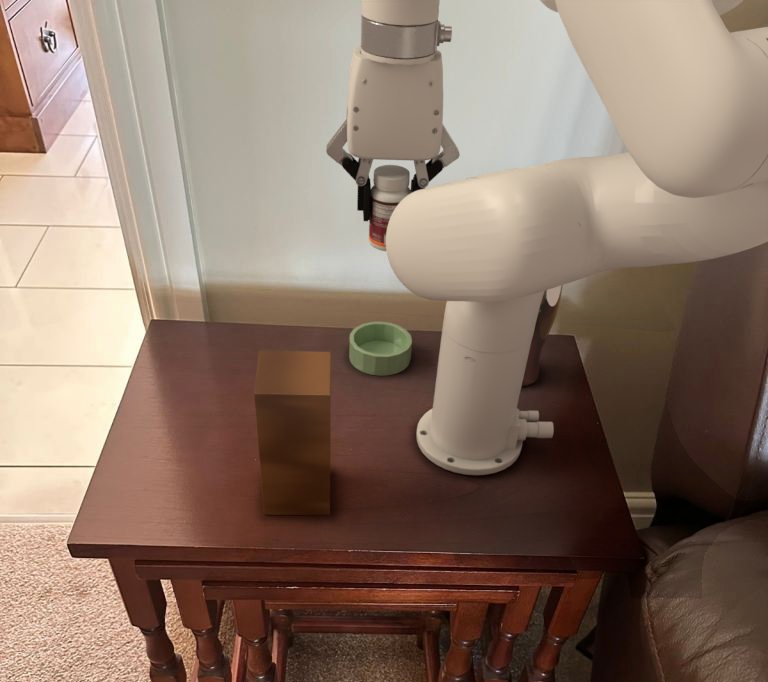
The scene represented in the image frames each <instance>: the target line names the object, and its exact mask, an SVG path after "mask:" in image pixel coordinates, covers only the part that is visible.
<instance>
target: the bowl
mask: <svg viewBox="0 0 768 682" xmlns="http://www.w3.org/2000/svg"><path fill="white" fill-rule="evenodd" d="M348 339H349V340H348V341H349V342H348V353H349V354H348V359H349V362H350V364H351V365H352V366H353V367H354V368H355V369H356V370H358V371H360V372H361V373H364V374H367V375H372V376H379V377H380V376H386V377H387V376H391V375H396V374H399V373H400V372H403V371H404V370H405V369H406V368H408V366H409V364H410V362H411V359H412V348H413V338H412V334H411V333H410V332H409V331H408V330H407V329H406V328H404V327H402V326H400V325H398V324H396V323H392V322H387V321H369V322H365V323H362V324H360V325H357V326H356V327H354V328H353V329H352V330H351V332H350V333H349V337H348Z"/></svg>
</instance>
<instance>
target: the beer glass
mask: <svg viewBox="0 0 768 682" xmlns="http://www.w3.org/2000/svg"><path fill="white" fill-rule="evenodd" d="M563 286H564V285H561V286H558V287H555V288H551V289H548V290H545V291H544V294H543V298H542V301H541V304H540V308H539V312H538V316H537V320H536V324H535V329H534V333H533V337H532V341H531V345H530V350H529V355H528V359H527V364H526V368H525V373H524V377H523V382H522V386H521V387H528V386H531V385H533V384H534V383H535V382H537V381H538V379H539V376H540V361H541V360H540V358H541V354H542V351H543V349H544V345H545V343H546V342H547V339H548V336H549V334H550V332H551V330H552V329H553V325H554V322H555V320H556V318H557V315H558V311H559V307H560V302H561V298H562V293H563Z"/></svg>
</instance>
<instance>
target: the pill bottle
mask: <svg viewBox="0 0 768 682" xmlns="http://www.w3.org/2000/svg"><path fill="white" fill-rule="evenodd" d="M410 177H411V176H410V170H409V169H408V168H406V167H404V166H402V165H397V164H383V165H379V166H377V167H376V168H375V169H374V170H373V180H372V181H373V186H371V200H370V220H368V224H369V225H368V242H369V245H370V246H372V248H374V249H376V250H378V251H382V252H387V251H386V232H387V227H388V223H389V220H390V217H391V215H392V213H393V211H394V209H395V208H396V207H397V205H398V204H399V203H400V202H401V201H402V200H403V199H404V198H405V197H406V196H407V195H409V194H410V193H411V187H410V180H411V179H410Z"/></svg>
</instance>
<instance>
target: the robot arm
mask: <svg viewBox="0 0 768 682" xmlns="http://www.w3.org/2000/svg"><path fill="white" fill-rule="evenodd" d="M539 1H540V2H541V4H542V5H544V6H545V7H546V8H547V9H549V10H550V11H553V12H555V13H558V15H559V17H560V20H561V22H562V24H563V27H564V28H565V31H566V33H567V36H568V38H569V41H570V42H571V45H572V47H573V48H574V51H575V52H576V54H577V56H578V58H579V61H580V62H581V64H582V66H583V68H584V70H585V72H586V73H587V76H588V77H589V79H590V81H591V83H592V85H593V87H594V88H595V90H596V93H597V94H598V96H599V98H600V101H601V102H602V104H603V107H604V108H605V110H606V112H607V113H608V115H609V117H610V119H611V122H612V123H613V125H614V127H615V129H616V132H617V133H618V135H619V137H620V139H621V141H622V142H623V144H624V147H625V149H626V150H627V152H623V153H615V154H608V155H607V154H606V155H598V156H580V157H569V158H562V159H558V160H553V161H547V162H544V163H539V164H534V165H530V166H526V167H525V166H524V167H519V168H518V167H517V168H515V167H514V168H507V169H501V170H497V171H491V172H487V173H483V174H477V175H474V176H469V177H466V178H464V179H460V180H455V181H450V182H447V183H441V184H438V185H433V186H430V187H429V184H430V182H432V180H433V179H435V178H436V177H437V176H438V175H439V174H440V173H441V172H442V171H443V169H445V168H446V167H448V166H449V165H451V164H452V163H453V162H455V161H457V160H458V159H459V158H460V154H461V153H460V151H459V147H458V146H457V145H456V143H455V141H454V139H453V138H452V136H451V135H450V133H449V131H448V130H447V128H446V126H445V125H444V123H443V120H444V69H443V66H444V65H443V56H442V52H441V51H440V50H438V47H440V44H444V43H451V41H452V37H453V27H452V26H451V25H445V24H442V23H441V21H440V20H439V15H440V14H439V13H440V3H441V0H361V14H360V15H361V17H360V18H361V20H360V21H361V23H360V45H358V46H356V47H354V48H353V51H352V56H351V60H350V67H349V74H348V84H347V101H346V103H347V104H346V119H345V120H344V122H343V123H342V124H341V125H340V126H339V128H338V130H337V131H336V132H335V134H333V136H332V137H331V139H330V140H329V141H328V143H327V144H326V148H325V149H326V151H325V152H326V154H327V155H328V157H329V158H330V159H332V160H333V161H335V163H337V164H339V165H340V166H341V167H342V169H344V170H345V172H346V173H347V174H348V175H349V176H350V177H351V178H352V179H353V180H354V181H355V184H356V185H357V201H356V202H357V203H356V206H357V207H356V208H357V211H358V212H359V211H360V212H362V216H363V217H362V219H363V222H369V220H370V200H371V188H372V185H371V178H370V172H371V168H372V165H373V162H374V160H382V161H383V160H384V161H413V164H414V170H415V173H414V174H413V177H412V179H410V180H411V181H410V190H411V193H410V194H409V195H407V196H406V197H405V198H404V199H403V200H402V201H401V202H400V203H399V204H398V205H397V207H396V208H395V209H394V211H393V213H392V215H391V217H390V220H389V223H388V227H387V232H386V251H385V252H386V255H387V259H388V263H389V265H390V269H392V271H393V274H394V275H395V277H396V278H397V279H398V280H399V282H400V283H401V284H402V285H403V286H404V288H406V289H407V290H408V291H410V292H411V293H413V294H414V295H416V296H418V297H420V298H423V299H427V300H430V301H437V302H446V303H445V309H444V315H443V321H442V328H441V335H440V336H441V338H440V346H439V353H438V361H437V370H436V379H435V384H434V385H435V387H434V395H433V401H432V402H433V403H432V408H431V409H430V408H429V410H427V411H426V412H425V413H423V415H422V417H420V418H419V421H418V423H417V427H416V442H417V443H416V444H417V446H418V448H419V449H420V452H421V453H422V454H423V455H424V456H425V457H426V458H427V459H428V460H429V461H430V462H432V463H433V464H434V465H436V466H438V467H440V468H442V469H444V470H446V471H449V472H451V473H455V474H461V475H465V476H466V475H467V476H484V475H485V476H486V475H491V474H495V473H498V472H501V471H504V470H506V469H508V468H509V467H510V466H512V465H513V464H514V463H515V462H516V461H517V459H518V458H519V457H520V455H521V451H522V448H523V442H524V441H525V440H526V439H527V438H536V439H552V438H553V436H554V431H555V430H554V429H555V427H554V422H553V421H539V420H540V413H539V410H520V408H518V404H519V399H520V395H521V392H522V391H521V390H522V387H523V386H522V382H523V377H524V373H525V368H526V364H527V359H528V355H529V350H530V345H531V341H532V337H533V333H534V329H535V324H536V320H537V316H538V312H539V308H540V304H541V301H542V298H543V294H544V291H545V290H548V289H551V288H555V287H558V286H561V285H563V286H564V285H567V284H570V283H573V282H576V281H579V280H582V279H584V278H588V277H590V276H593V275H595V274H599V273H602V272H606V271H611V270H617V269H618V270H619V269H628V268H629V269H630V268H646V267H647V268H649V267H655V266H656V267H657V266H665V265H678V264H679V265H680V264H689V263H696V262H701V261H703V262H704V261H709V260H713V259H719V258H722V257H726V256H727V257H728V256H730V255H734V254H737V253H741V252H743V251H747V250H750V249H753V248H755V247H758V246H760V245H763V244H766V243H768V26H764V27H757V28H751V29H745V30H738V31H732V32H731V31H729V29H728V28H727V27H726V24H724V21H723V19H722V17H721V16H723V15H725V14H727V13H728V12H729V11H731V10H733V9H735V8H736V7H737V6H738V5H740V4H741V3H743V1H744V0H539ZM346 143H347V150H348V152H347V151H346V150H345V149H344V148H343V147H344V146H345V145H346ZM441 148H442V151H441ZM356 158H358V159H357V160H356ZM426 161H428V162H426Z"/></svg>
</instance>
